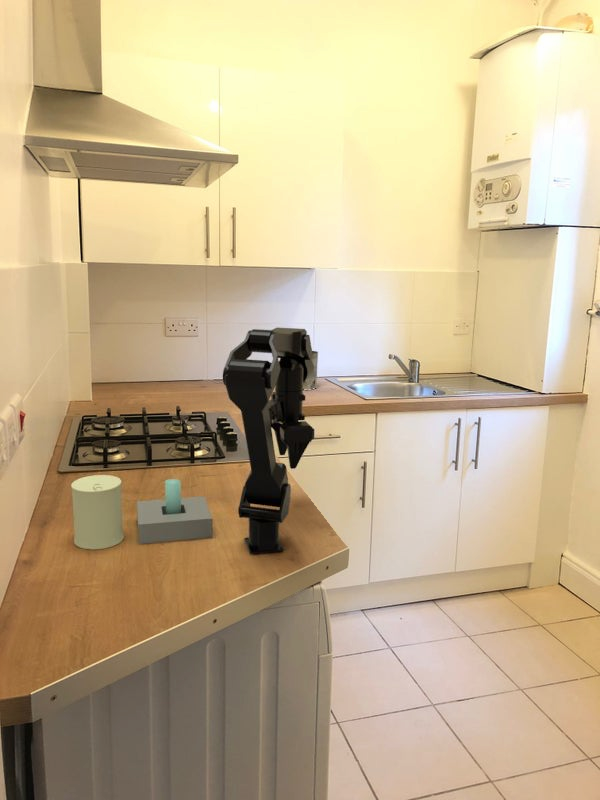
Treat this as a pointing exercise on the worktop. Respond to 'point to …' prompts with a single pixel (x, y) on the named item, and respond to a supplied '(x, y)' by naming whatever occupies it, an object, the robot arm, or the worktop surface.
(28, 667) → the worktop surface
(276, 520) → the robot arm
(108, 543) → the can
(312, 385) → the coffee box
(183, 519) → the hole block
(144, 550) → the worktop surface
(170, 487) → the peg
